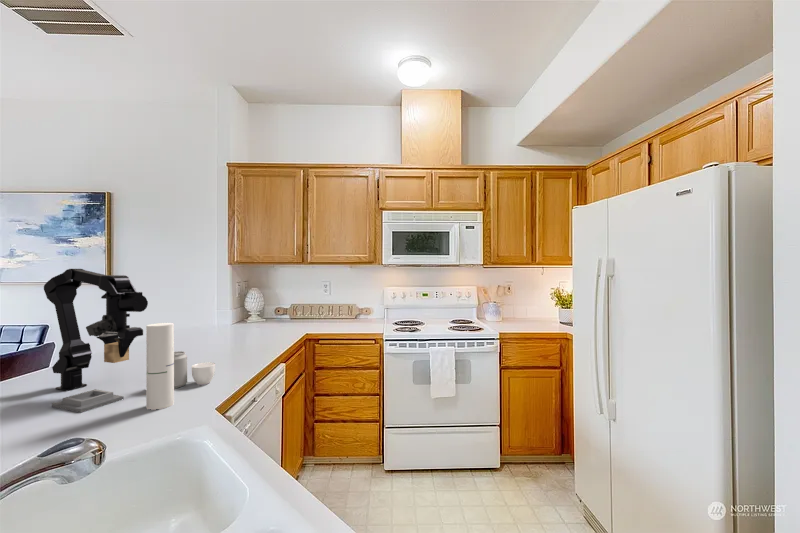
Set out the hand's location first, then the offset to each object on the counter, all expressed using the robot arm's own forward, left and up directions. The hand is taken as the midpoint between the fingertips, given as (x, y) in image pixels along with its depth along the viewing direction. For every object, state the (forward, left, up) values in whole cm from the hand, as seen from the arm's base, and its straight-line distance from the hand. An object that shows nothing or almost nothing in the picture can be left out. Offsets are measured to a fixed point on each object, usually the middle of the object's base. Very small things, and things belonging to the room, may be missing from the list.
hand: (116, 356), depth 129 cm
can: (+14, +11, -12) cm, 22 cm away
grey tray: (+4, -11, -12) cm, 17 cm away
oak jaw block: (0, 0, -2) cm, 2 cm away
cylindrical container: (+28, -5, -12) cm, 31 cm away
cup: (+20, +17, -12) cm, 29 cm away
